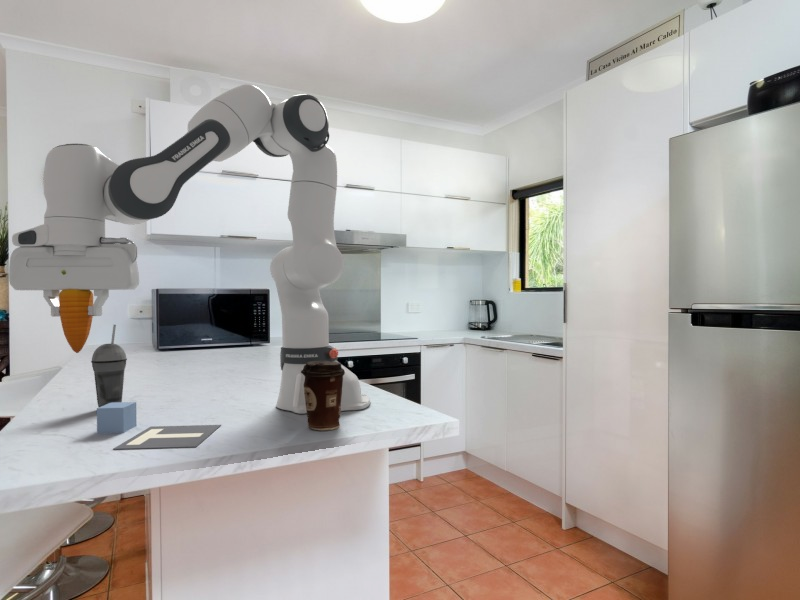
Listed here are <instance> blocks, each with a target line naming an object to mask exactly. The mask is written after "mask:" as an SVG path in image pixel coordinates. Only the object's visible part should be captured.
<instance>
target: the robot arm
mask: <svg viewBox="0 0 800 600" xmlns="http://www.w3.org/2000/svg"><path fill="white" fill-rule="evenodd" d="M329 139H330V133H329V117H328V114H327V110H326V108H325V107H324V104H323V103H322V102H321V100H319V99H318V98H317V97H315V96H314V95H311V94H306V93H304V94H301V93H300V94H296V95H292V96H291V97H289V98H288V99H285V100H283V101H281V102H279V103H277V104H275V103H273V102H271V101H270V99H269V97H268V96H267V94H266V93H265V92H264V91H263V90H262V89H260V88H259V87H257V86H255V85H253V84H247V83H246V84H241V85H238V86H236V87H234V88H231V89H229V90H227V91H225V92H223V93H222V94H219V95H217V96H216V97H215V98H213V99H212V100H210V101H209V102H207V103H206V104H204V105H203V107H201V108H200V109H199V110H198V111H197V112H196V113H195V114H194V115H193V116H192V117H191V118H190V120H189V121H188V123H187V132H186V133H184V135H183V136H181V137H180V138H178V139H177V140H176V141H174V142H173V143H171V144H170V145H169V146H168V147H166V148H164V149H163V150H161V151H160V152H158V153H156V154H155V155H152V156H151V155H150V156H145V157H140V158H139V157H138V158H134V159H130V160H127V161H125V162H123V163H121V164H119V163H117V162H115V161H114V160H112V159H111V158H110V157H108V156H106V155H105V154H104V153H102V152H101V150H100V149H99V148H98V147H96V146H93V145H89V144H85V143H66V144H60V145H58V146H55V147H53V148H52V149H50V150H49V151H48V153H47V155H46V157H45V162H44V171H43V195H44V198H45V201H46V209H45V213H44V216H43V222H44V223H43V224H39V225H37V226H34V227H32V228H28V229H25V230H23V231H22V230H21V231H19V232H16V233H13V235H12V236H11V242H12V245H13V246H15V247H16V248H15V249H14V250H12V252H11V254H10V259H9V264H8V265H9V267H8V281H9V285H10V286H11V287H12V288H13V289H14V290H15V291H43V294H42V295H43V298H44V300H45V301H46V302H47V305H48V306H49V307H50V316H51V317H59V318H60V307H59V294H60V292H61V291H62V290H66V289H78V290H90V291H93V297H96V298H95V300H94V301H93V306H88V311H89V312H88V316H93V317H102V315H103V306H104V304H105V303H106V301H107V300H108V298H109V297H110V296H109V294H110V293H109V292H110V290H113V291H114V290H115V291H117V290H118V291H119V290H123V291H124V290H131V291H132V290H135V289H137V288H138V286H139V284H140V274H139V273H140V272H139V268H138V260H137V258H138V246H137V245H136V243H135V242H134V241H132V240H131V239H129V238H128V237H106V220H108V221H113V222H116V223H120V224H124V225H128V226H130V225H135V226H136V225H141V224H142V223H146V222H148V221H149V220H154V219H157V218H160V217H162V216H164V215H166V214H167V213H169V211H170V210H171V209H172V207H173V206H174V205H175V203H176V201H177V198H178V196H179V194H180V191H181V190H182V187H183V186H184V185H185V184H186V183H187V182H188V181H189V180H190V179H191V178H193V177H194V176H196V174H198V173H199V172H201V171H202V170H203V169H204V168H205V167H206V166H207V165H209V164H211V163H212V162H223V161H225V160H228V159H229V158H231V157H233V156H235V155H237V154H239V153H240V152H241V151H242V150H244V149H245V148H246V147H248V146H249V145H250V144H251V143H252V142H253V143H254V144H255V146H256V147H257V148H258V150H260V151H261V152H262V153H263V154H265V155H266V156H269V157H272V158H284V157H287V156H290V160H291V163H292V175H291V181H290V182H291V183H290V188H289V190H290V191H289V198H288V207H287V219H288V220H289V222H290V227H291V232H292V245H290V246H287V247H284V248H282V249H281V250H279V251H278V252H277V253H276V254H275V255H274V257H272V260H271V261H270V266H269V270H270V271H269V272H270V275H271V277H272V279H273V280H274V283H275V286H276V291H277V297H278V300H279V306H280V311H281V319H282V320H281V325H282V326H281V327H282V328H281V329H282V330H281V331H282V333H281V334H282V340H281V341H282V346H281V347H280V352H279V360H280V361H279V362H280V371H281V379H280V380H281V381H280V387H279V393H278V398H277V401H276V404H275V406H276V408H277V409H280V410H285V411H289V412H292V413H295V414H299V415H300V414H307V411H306V404H305V395H304V382H305V376H304V375H303V374H302V373H301V371H302V370H303V368H304V365H306V363H307V362H310V361H330V362H339V361H338V356H339V351H338V349H337V348H336V347H333V346H332V345H330V337H329V336H330V335H329V334H330V333H329V332H330V328H329V325H330V324H329V323H330V322H329V320H330V319H329V313H328V311H327V309H326V307H325V306H324V303H323V300H322V297H321V292H320V289H323V288H326V287H328V286H330V285H332V284H334V283H335V282H337V281H338V280H339V279H340V278H341V276H342V275H343V272H344V268H345V261H344V257H343V254H342V252H341V251H340V250H339V248H338V246H337V241H336V235H335V222H334V220H335V209H336V199H337V187H338V165H337V162H338V161H337V155H336V153H335V152H334V150H333V148H332V147H330V146H329V145H327V144H328V142H329ZM62 270H65V271H66V274H65V275H63V274H62V272H61V271H62ZM341 367H342V368H343V369H344V371H345V374H344V375H343V385H342V399H341V412H343V411H356V410H358V411H359V410H364V409H366V408H368V407H369V406H370V404H371V398H370V396H369V395H367V394H365V393H362V388H361V383H360V380H359V378H358V376H357V375H356V374H355V373H353V372H352V371H351V370H350V369H348V368H347V367H346V366H344V365H343V364H342V363H341Z"/></svg>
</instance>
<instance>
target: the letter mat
mask: <svg viewBox="0 0 800 600" xmlns="http://www.w3.org/2000/svg"><path fill="white" fill-rule="evenodd" d="M221 426H222V424H204V425H203V424H198V425H196V424H194V425H193V424H192V425H163V426H161V425H160V426H156V425H155V426H149V427H147V428H146V429H144V430H142V431H140V432H139V433H138V434H136V435H134V436H133V437H130V438H129V439H127V440H126V441H123V442H122V443H120V444H119V445H117V446H115V447H114V448H112V450H116V451H117V450H119V451H120V450H147V449H150V450H151V449H181V448H185V449H186V448H197V447H198V446H199V445H201V444H202V443H203V442H204V441H205V440H206V439H208V438H209V437H210V436H211V435H212V434H213V433H214V432H216V430H218V429H220V427H221Z"/></svg>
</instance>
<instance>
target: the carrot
mask: <svg viewBox="0 0 800 600" xmlns="http://www.w3.org/2000/svg"><path fill="white" fill-rule="evenodd" d="M61 272H62V274H63V275H65V274H66V271H65V270H62V271H61ZM58 301H59V307H60V316H59V318H60V322H61V328H62V331H63V334H64V337H65V339H66V341H67V343H68V345H69V347H70V348H71V349H72V351H73V352H75V353H76V354H78V353H80V352H81V351H82V350H83V348H84V346H85V345H86V343H87V340H88V338H89V336H90V331H91V328H92V321H93V318H94V316H88V312H89V311H88V306H93V304H94V292H93V291H92V290H78V289H66V290H60V294H59V297H58Z"/></svg>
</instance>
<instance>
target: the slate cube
mask: <svg viewBox="0 0 800 600" xmlns="http://www.w3.org/2000/svg"><path fill="white" fill-rule="evenodd" d="M137 423H138V422H137V401H122V402H112V403H109V404H106V405H104V406H101V407H99V408H98V407H97V408H96V434H125V433H126V432H128V431H130V430H132V429H133V428H135V427H137Z"/></svg>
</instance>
